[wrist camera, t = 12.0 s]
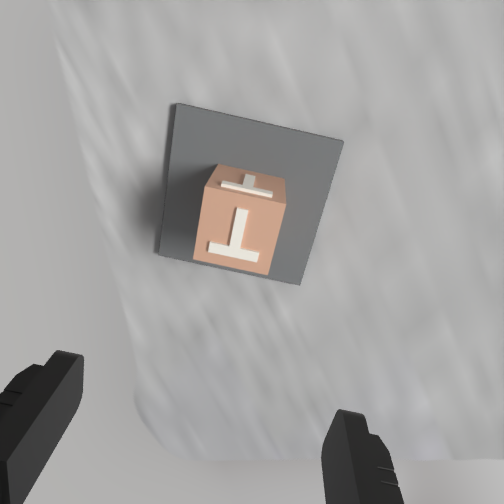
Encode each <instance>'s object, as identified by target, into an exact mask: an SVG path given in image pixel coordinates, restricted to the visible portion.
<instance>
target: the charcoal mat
mask: <svg viewBox="0 0 504 504" xmlns="http://www.w3.org/2000/svg"><path fill="white" fill-rule="evenodd" d="M343 144H344V141H343V140H338V139H334V138H330V137H325V136H321V135H317V134H312V133H308V132H304V131H299V130H295V129H290V128H286V127H282V126H277V125H273V124H269V123H264V122H260V121H256V120H251V119H247V118H242V117H238V116H234V115H229V114H225V113H221V112H216V111H212V110H208V109H203V108H199V107H194V106H190V105H186V104H181V103H177V105H176V113H175V121H174V130H173V138H172V147H171V155H170V163H169V172H168V180H167V188H166V197H165V205H164V213H163V222H162V230H161V238H160V247H159V255H160V256H164V257H169V258H174V259H178V260H183V261H188V262H192V263H197V264H202V265H206V266H211V267H216V268H220V269H225V270H230V271H234V272H239V273H244V274H249V275H253V276H258V277H263V278H267V279H272V280H277V281H281V282H286V283H291V284H295V285H300V284H301V281H302V277H303V274H304V271H305V268H306V264H307V261H308V258H309V255H310V251H311V248H312V245H313V242H314V238H315V235H316V232H317V229H318V225H319V222H320V219H321V216H322V212H323V209H324V206H325V203H326V199H327V196H328V193H329V190H330V186H331V183H332V180H333V176H334V173H335V170H336V167H337V163H338V160H339V157H340V154H341V150H342V147H343ZM218 164H221V165H226V166H230V167H235V168H239V169H244V170H248V171H253V172H257V173H261V174H266V175H270V176H275V177H279V178H284V179H285V192H286V208H285V211H284V215H283V219H282V223H281V227H280V230H279V234H278V238H277V242H276V246H275V250H274V253H273V257H272V261H271V265H270V269H269V273H268V275H264V274H259V273H255V272H250V271H245V270H241V269H236V268H231V267H227V266H222V265H217V264H213V263H208V262H203V261H199V260H194V259H193V256H194V250H195V243H196V237H197V231H198V225H199V219H200V213H201V207H202V200H203V194H204V188H205V185H206V183H207V182H208V180H209V178H210V177H211V175H212V173H213V172H214V170H215V169H216V167H217V165H218Z"/></svg>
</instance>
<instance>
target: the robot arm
mask: <svg viewBox="0 0 504 504" xmlns="http://www.w3.org/2000/svg"><path fill="white" fill-rule="evenodd" d="M83 370H84V357H83V356H82V355H79V354H75V353H69V352H65V351H60V350H57V351H56V352H54V354H53V355H52V356H51V358H50V359H49V360H48V361H47V362H46V364H45V365H44V366H41V365H36V364H33V365H31V366H29V367H28V368H26V369H25V370H23V371H22V372H20V373H18V374H17V375H16V376H15V377H14V378H13V379H12V381H11V382H10V383H9V384H8V385H7V386H6V388H5V389H4V391H3V392H2V393H1V394H0V504H23V502H24V501H25V499H26V497H27V496H28V494H29V492H30V490H31V489H32V487H33V485H34V483H35V482H36V480H37V478H38V477H39V475H40V473H41V472H42V470H43V468H44V466H45V465H46V463H47V461H48V459H49V458H50V456H51V454H52V453H53V451H54V449H55V447H56V446H57V444H58V442H59V440H60V439H61V437H62V435H63V434H64V432H65V430H66V428H67V427H68V425H69V423H70V422H71V420H72V418H73V416H74V415H75V413H76V411H77V409H78V407H79V404H80V401H81V398H82V393H83V372H84V371H83ZM321 462H322V471H323V481H324V489H325V499H326V504H404V501H403V498H402V494H401V491H400V488H399V487H398V481H397V478H396V474H395V473H394V467H393V463H392V460H391V456H390V453H389V451H388V449H387V448H386V446H385V445H384V443H383V442H382V440H381V439H380V437H379V436H378V435H374V434H369V431H368V427H367V423H366V419H365V416H364V415H363V414H360V413H356V412H351V411H346V410H341V409H339V410H338V411H337V412H336V414H335V417H334V419H333V421H332V424H331V426H330V428H329V431H328V433H327V435H326V437H325V440H324V443H323V447H322V455H321Z"/></svg>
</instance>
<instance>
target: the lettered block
mask: <svg viewBox="0 0 504 504" xmlns="http://www.w3.org/2000/svg"><path fill="white" fill-rule="evenodd" d="M285 208H286V192H285V179H284V178H279V177H275V176H270V175H266V174H261V173H257V172H253V171H248V170H244V169H239V168H235V167H230V166H226V165H221V164H218V165H217V167H216V169H215V170H214V172H213V173H212V175H211V177H210V178H209V180H208V182H207V183H206V185H205V188H204V194H203V200H202V207H201V213H200V219H199V225H198V231H197V237H196V243H195V250H194V256H193V259H194V260H199V261H203V262H208V263H213V264H217V265H222V266H227V267H231V268H236V269H241V270H245V271H250V272H255V273H259V274H264V275H268V273H269V269H270V265H271V261H272V257H273V253H274V250H275V246H276V242H277V238H278V234H279V230H280V227H281V223H282V219H283V215H284V211H285Z"/></svg>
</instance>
